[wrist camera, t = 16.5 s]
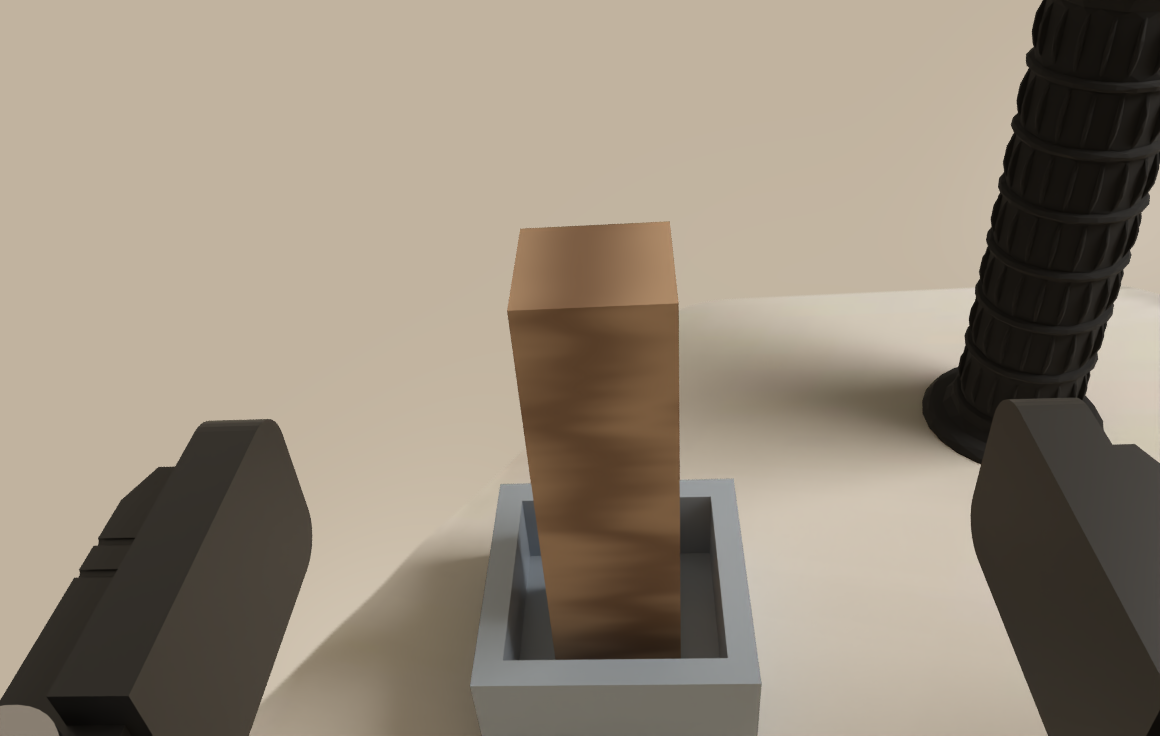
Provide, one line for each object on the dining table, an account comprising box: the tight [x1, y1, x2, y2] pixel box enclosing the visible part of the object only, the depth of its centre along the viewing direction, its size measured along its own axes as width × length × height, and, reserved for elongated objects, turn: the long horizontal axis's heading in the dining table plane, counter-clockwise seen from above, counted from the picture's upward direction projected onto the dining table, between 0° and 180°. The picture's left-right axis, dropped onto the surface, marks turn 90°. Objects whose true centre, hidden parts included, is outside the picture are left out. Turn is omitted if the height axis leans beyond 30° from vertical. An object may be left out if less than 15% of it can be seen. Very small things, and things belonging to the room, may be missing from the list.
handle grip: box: [923, 0, 1160, 463], centre depth 48 cm, size 10×26×10 cm
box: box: [470, 479, 761, 736], centre depth 43 cm, size 12×12×5 cm
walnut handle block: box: [507, 222, 681, 660], centre depth 38 cm, size 6×6×20 cm
